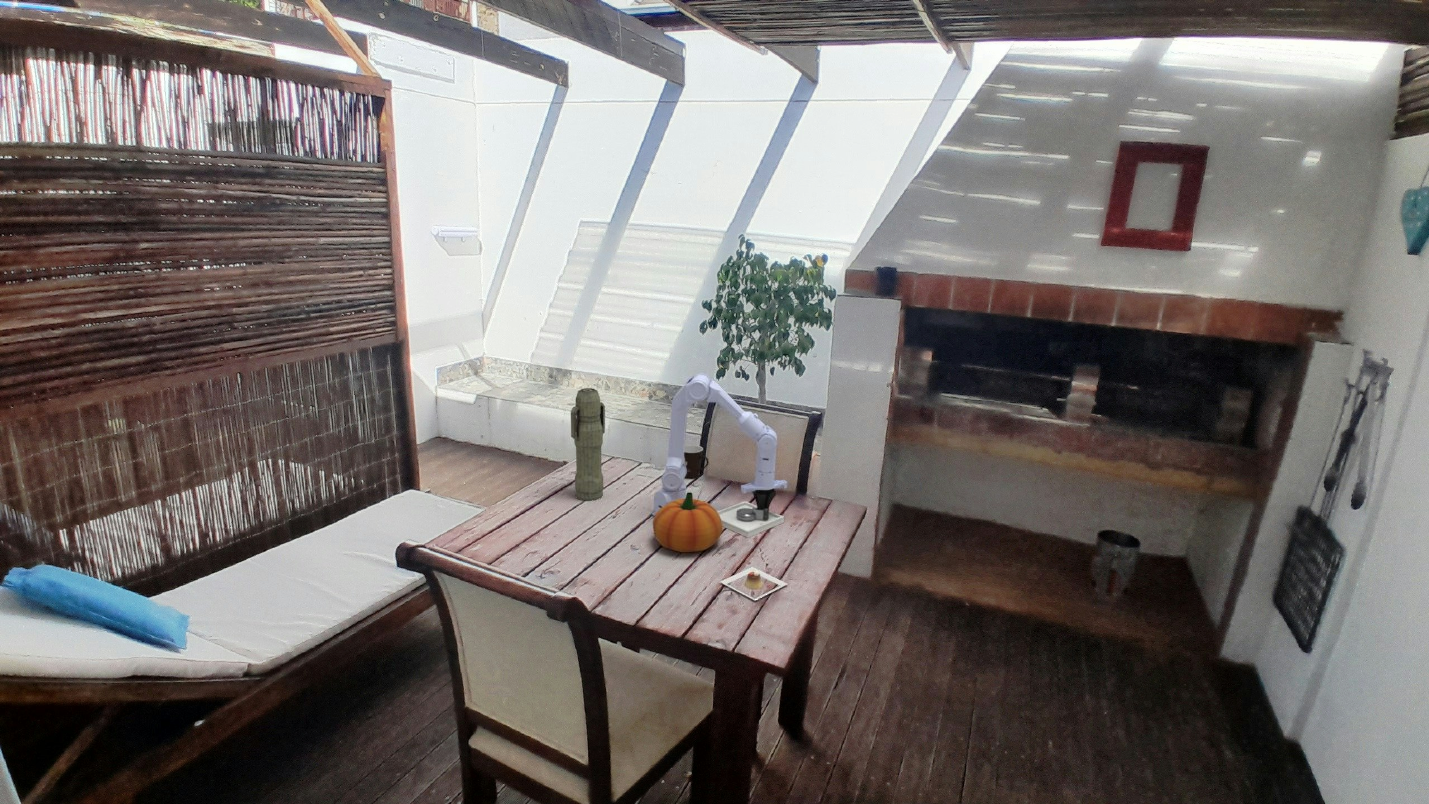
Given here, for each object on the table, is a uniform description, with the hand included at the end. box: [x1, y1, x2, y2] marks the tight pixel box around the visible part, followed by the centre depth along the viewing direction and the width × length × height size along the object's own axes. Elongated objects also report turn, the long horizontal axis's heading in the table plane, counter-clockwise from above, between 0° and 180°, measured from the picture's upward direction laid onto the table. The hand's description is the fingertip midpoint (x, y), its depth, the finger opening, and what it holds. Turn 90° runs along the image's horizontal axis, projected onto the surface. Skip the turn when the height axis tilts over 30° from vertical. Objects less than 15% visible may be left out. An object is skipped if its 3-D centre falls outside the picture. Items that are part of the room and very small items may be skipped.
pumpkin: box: [652, 492, 724, 553], centre depth 198 cm, size 19×19×15 cm
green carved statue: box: [570, 387, 606, 502], centre depth 226 cm, size 9×12×35 cm
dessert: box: [719, 566, 788, 601], centre depth 177 cm, size 12×12×5 cm
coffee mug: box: [684, 444, 709, 480], centre depth 248 cm, size 12×9×10 cm
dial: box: [736, 507, 770, 521], centre depth 214 cm, size 10×6×3 cm, turn 78°
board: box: [716, 501, 785, 538], centre depth 215 cm, size 16×16×2 cm
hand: (762, 512), depth 215 cm, fingers closed
